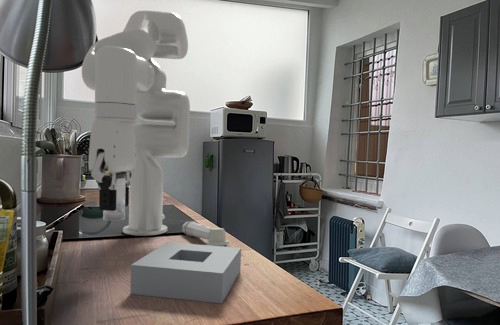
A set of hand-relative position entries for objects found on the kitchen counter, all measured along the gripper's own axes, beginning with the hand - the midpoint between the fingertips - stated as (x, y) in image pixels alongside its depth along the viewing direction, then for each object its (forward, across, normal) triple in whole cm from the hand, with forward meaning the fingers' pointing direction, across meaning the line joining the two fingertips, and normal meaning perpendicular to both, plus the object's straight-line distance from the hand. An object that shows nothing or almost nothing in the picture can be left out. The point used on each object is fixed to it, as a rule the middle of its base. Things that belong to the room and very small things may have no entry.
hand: (114, 207), depth 72 cm
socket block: (+13, +1, +16) cm, 21 cm away
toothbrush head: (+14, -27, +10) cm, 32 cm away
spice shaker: (+2, 0, 0) cm, 2 cm away
